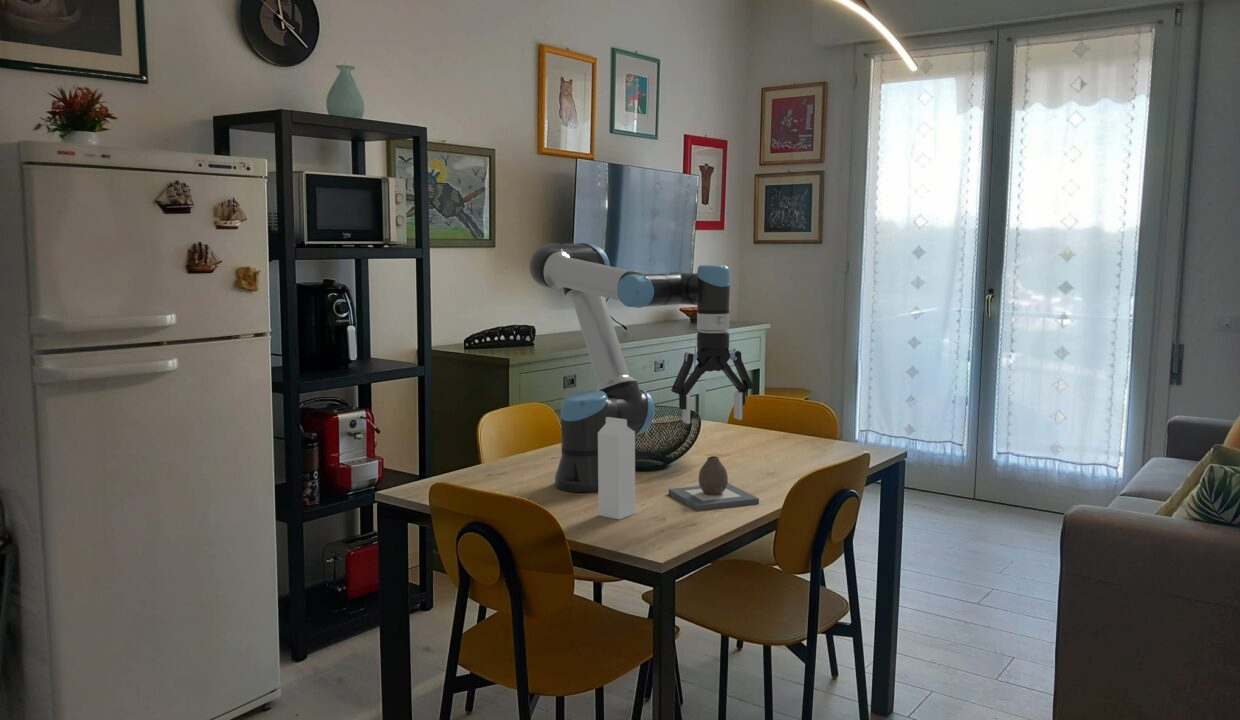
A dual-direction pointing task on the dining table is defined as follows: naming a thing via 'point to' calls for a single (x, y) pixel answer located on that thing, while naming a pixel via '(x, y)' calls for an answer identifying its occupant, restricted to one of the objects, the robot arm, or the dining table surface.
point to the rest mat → (713, 497)
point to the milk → (616, 469)
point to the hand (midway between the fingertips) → (712, 421)
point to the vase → (713, 477)
